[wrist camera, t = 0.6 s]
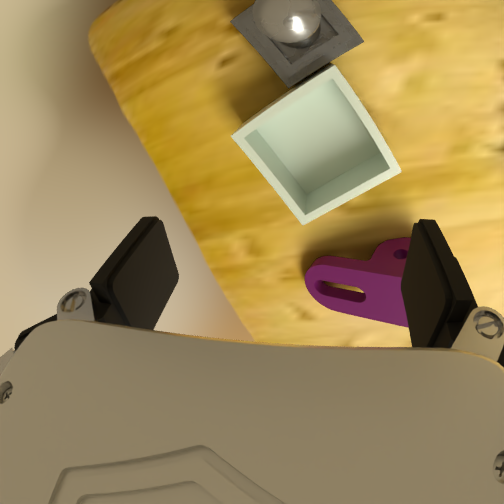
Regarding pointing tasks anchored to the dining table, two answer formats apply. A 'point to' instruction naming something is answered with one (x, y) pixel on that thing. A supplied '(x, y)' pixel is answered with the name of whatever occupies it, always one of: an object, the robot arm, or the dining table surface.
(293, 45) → the grey rounded piece
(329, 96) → the bin
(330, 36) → the socket block
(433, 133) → the dining table surface
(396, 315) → the mounting bracket
